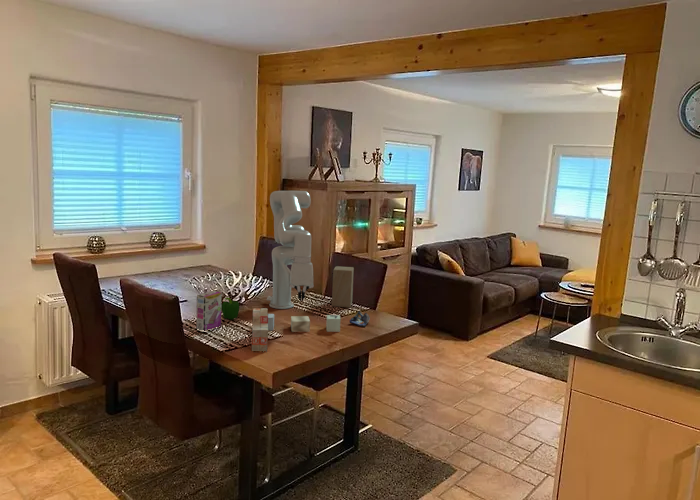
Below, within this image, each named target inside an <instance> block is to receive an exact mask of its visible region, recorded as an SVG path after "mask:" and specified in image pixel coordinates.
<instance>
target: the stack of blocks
mask: <svg viewBox="0 0 700 500" xmlns="http://www.w3.org/2000/svg"><path fill="white" fill-rule="evenodd" d="M268 314H269V313H268V308H266V307H265V308H263V307H262V308H259V307H258V308H252V328H251V331H252V332H251V333H252V335H251V336H252V337H251V352H252V351H263V352H262V353H267V352H268V339H269V330H268ZM264 351H266V352H264Z"/></svg>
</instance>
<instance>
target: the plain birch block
mask: <svg viewBox="0 0 700 500" xmlns="http://www.w3.org/2000/svg"><path fill="white" fill-rule="evenodd" d="M290 318H291V319H290V329H291V332H292V333H294V332H295V333H298V332H299V333H300V332H302V333H305V332H306V333H310V331H311V329H310V328H311V320H310V317H309V316H307V315H301V316H300V315H297V316H296V315H293V316H292V315H291V316H290Z"/></svg>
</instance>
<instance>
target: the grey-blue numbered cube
mask: <svg viewBox="0 0 700 500" xmlns="http://www.w3.org/2000/svg"><path fill="white" fill-rule="evenodd" d="M274 327H275V314H274V313H268V331H274Z"/></svg>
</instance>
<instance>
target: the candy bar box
mask: <svg viewBox="0 0 700 500" xmlns="http://www.w3.org/2000/svg"><path fill="white" fill-rule="evenodd" d="M222 293H223V292H220V291H217V290H212V291H209V292H204V293H199V294H197V295H196V316H195V317H196V320H195V321H196V322H195V323H196V324H195V325H196V327H195V328H196V329H199V330H204V331H205V330H208V329H212V328H215V327H219V326H221V327H222V304H223V303H222V300H223V299H222V297H223V296H222V295H223V294H222Z"/></svg>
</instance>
